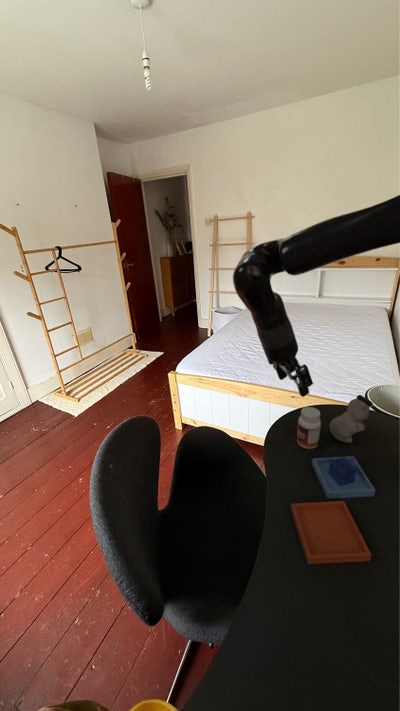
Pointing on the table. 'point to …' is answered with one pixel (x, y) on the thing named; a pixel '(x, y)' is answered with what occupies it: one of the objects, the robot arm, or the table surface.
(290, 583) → the table surface
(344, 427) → the figurine
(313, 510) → the terracotta tray
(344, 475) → the blue block
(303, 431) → the pill bottle
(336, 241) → the robot arm
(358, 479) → the blue tray
